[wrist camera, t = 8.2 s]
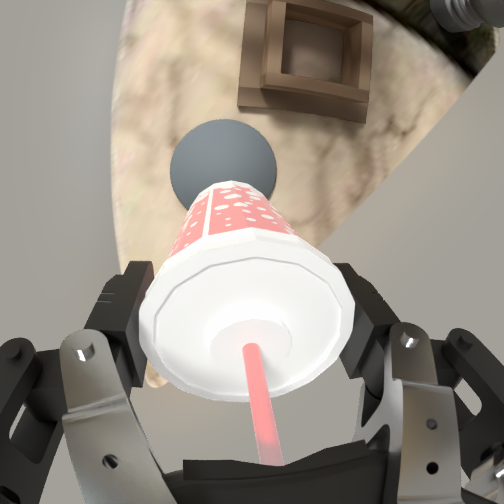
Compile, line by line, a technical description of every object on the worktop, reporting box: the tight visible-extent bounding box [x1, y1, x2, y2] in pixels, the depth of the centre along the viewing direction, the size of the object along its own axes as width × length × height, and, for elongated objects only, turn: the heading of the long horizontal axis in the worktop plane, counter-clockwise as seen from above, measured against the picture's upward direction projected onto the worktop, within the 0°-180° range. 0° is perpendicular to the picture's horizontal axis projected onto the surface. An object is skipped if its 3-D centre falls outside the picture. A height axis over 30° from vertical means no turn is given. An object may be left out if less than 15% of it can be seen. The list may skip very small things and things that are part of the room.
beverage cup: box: [139, 180, 355, 466], centre depth 9 cm, size 6×6×14 cm
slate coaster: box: [170, 119, 276, 210], centre depth 29 cm, size 11×11×1 cm
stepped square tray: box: [237, 0, 373, 124], centre depth 22 cm, size 14×14×4 cm
